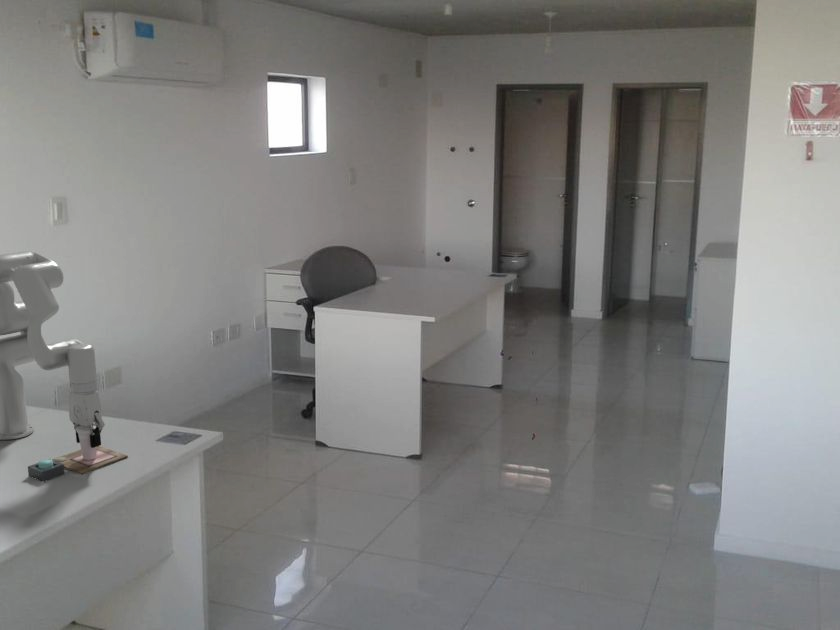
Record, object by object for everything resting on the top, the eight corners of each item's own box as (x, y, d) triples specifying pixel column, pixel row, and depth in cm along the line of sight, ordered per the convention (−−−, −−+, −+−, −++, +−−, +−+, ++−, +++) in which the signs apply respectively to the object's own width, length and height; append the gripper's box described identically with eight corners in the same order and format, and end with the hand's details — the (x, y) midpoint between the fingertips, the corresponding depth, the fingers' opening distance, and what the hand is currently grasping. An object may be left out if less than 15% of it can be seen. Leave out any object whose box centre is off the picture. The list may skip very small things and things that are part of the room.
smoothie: (93, 462, 275) (90, 417, 272) (74, 460, 277) (70, 415, 273) (105, 454, 281) (102, 410, 278) (85, 452, 283) (82, 408, 279)
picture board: (49, 462, 278) (48, 460, 278) (95, 446, 290) (94, 444, 290) (81, 474, 269) (81, 472, 268) (127, 457, 281) (127, 455, 281)
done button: (36, 472, 268) (35, 462, 267) (48, 468, 271) (47, 458, 270) (44, 475, 265) (43, 465, 265) (56, 471, 269) (55, 461, 268)
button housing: (28, 476, 268) (27, 466, 267) (50, 468, 273) (49, 458, 272) (42, 481, 264) (41, 471, 263) (64, 473, 269) (63, 464, 269)
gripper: (54, 384, 276) (60, 441, 280) (90, 394, 266) (96, 454, 270) (77, 378, 282) (82, 434, 286) (113, 388, 272) (117, 446, 276)
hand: (88, 443), depth 278 cm, fingers closed on smoothie, 6 cm apart
